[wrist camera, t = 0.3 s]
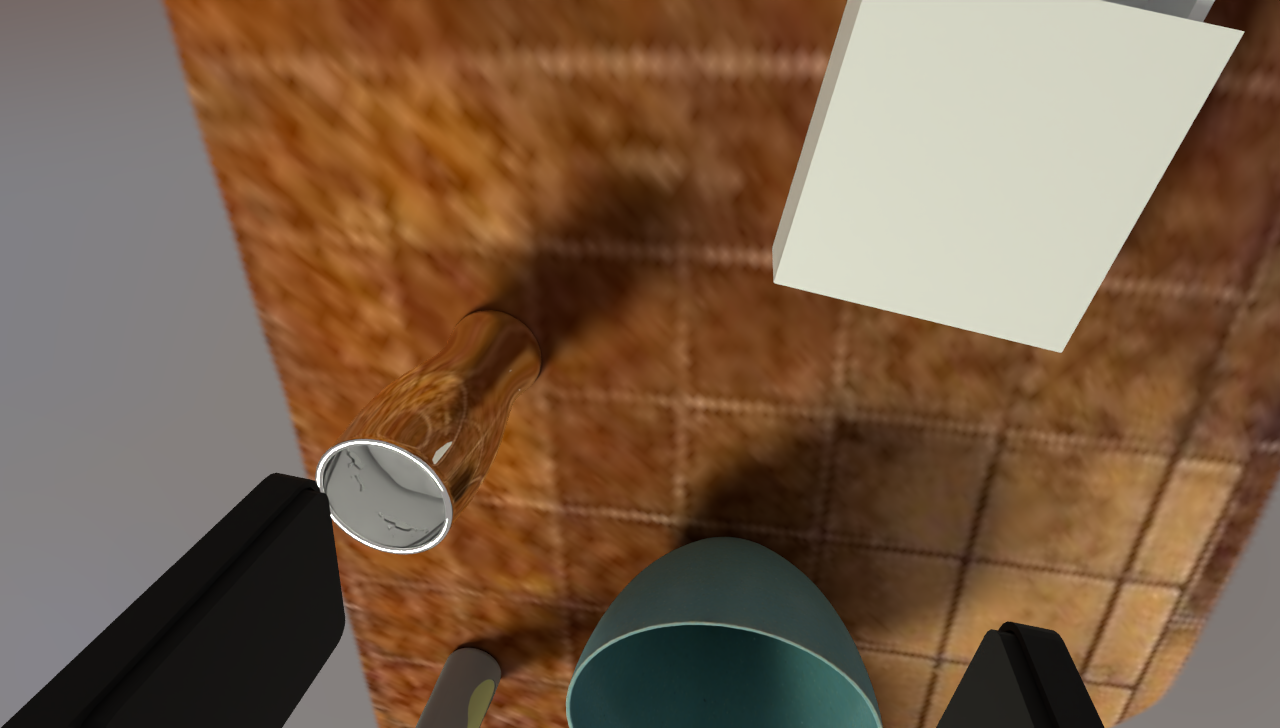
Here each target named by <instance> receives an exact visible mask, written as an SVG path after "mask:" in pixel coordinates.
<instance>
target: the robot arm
mask: <svg viewBox="0 0 1280 728" xmlns="http://www.w3.org/2000/svg"><path fill="white" fill-rule="evenodd" d="M344 626H345V613H344V606H343V599H342V591H341V584H340V577H339V570H338V563H337V555H336V548H335V541H334V534H333V526H332V519H331V512H330V505H329V499H328V496H327V495H326V494H325V493H322V492H320V488H319V485H318V483H317V482H316V481H314V480H310V479H305V478H299V477H295V476H290V475H285V474H280V473H274V474H270V475H269V476H268V477H267V478H265V479H264V480H263V481H262V482H261V483H260V484H259V485H257V486H256V487H255V488H254V489H253V490H252V491H251V492H250V493H249V494H248V495H247V496H246V497H245V498H244V499H243V500H242V501H241V502H239V503H238V504H237V505H236V506H235V507H234V508H233V509H232V510H231V511H230V512H229V513H228V514H227V515H226V516H225V517H224V518H223V519H222V520H220V522H218V523H217V524H216V525H215V526H214V527H213V528H212V529H211V530H210V531H209V532H208V533H207V534H206V535H205V536H204V537H202V538H201V540H199V541H198V542H197V543H196V544H195V545H194V546H193V547H192V548H191V549H190V550H189V551H188V552H187V553H186V554H185V555H183V557H181V558H180V559H179V560H178V561H177V562H176V563H175V564H174V565H173V566H172V567H170V568H169V569H168V570H167V571H166V572H165V573H164V574H163V575H162V576H161V577H160V578H159V579H158V580H157V581H156V582H155V583H153V584H152V585H151V586H150V587H149V588H148V589H147V590H146V591H145V592H144V593H143V594H142V595H141V596H140V597H139V598H138V599H137V600H136V601H134V602H133V603H132V604H131V605H130V606H129V607H128V608H127V609H126V610H125V611H124V612H123V613H122V614H121V615H120V616H119V617H118V618H116V619H115V621H113V622H112V623H111V624H110V625H109V626H108V627H107V628H106V629H105V630H104V631H103V632H102V633H101V634H100V635H98V636H97V637H96V638H95V639H94V640H93V641H92V642H91V643H90V644H89V645H88V646H87V647H86V648H85V649H84V650H83V651H82V652H81V653H79V654H78V656H76V657H75V658H74V659H73V660H72V661H71V662H70V663H69V664H68V665H67V666H66V667H65V668H64V669H63V670H61V671H60V672H59V673H58V674H57V675H56V676H55V677H54V678H53V679H52V680H51V681H50V682H49V683H48V684H47V685H46V686H45V687H44V688H42V689H41V690H40V691H39V692H38V693H37V694H36V695H35V696H34V697H33V698H32V699H31V700H30V701H29V702H28V703H27V704H26V705H25V706H23V707H22V708H21V709H20V710H19V711H18V712H17V713H16V714H15V715H14V716H13V717H12V718H11V719H10V720H9V721H8V722H6V723H5V724H4V725H3V726H2V727H1V728H282V727H283V725H284V724H285V722H286V721H287V719H288V718H289V716H290V715H291V713H292V712H293V710H294V709H295V707H296V706H297V704H298V703H299V701H300V700H301V698H302V697H303V695H304V694H305V692H306V691H307V689H308V688H309V686H310V685H311V683H312V682H313V680H314V679H315V677H316V676H317V674H318V673H319V671H320V670H321V668H322V667H323V665H324V664H325V662H326V661H327V659H328V658H329V656H330V655H331V653H332V652H333V650H334V649H335V648H336V646H337V644H338V643H339V641H340V638H341V636H342V633H343V630H344ZM936 728H1104V726H1103V724H1102V721H1101V719H1100V717H1099V715H1098V713H1097V711H1096V709H1095V707H1094V705H1093V702H1092V700H1091V698H1090V696H1089V694H1088V692H1087V690H1086V688H1085V685H1084V683H1083V681H1082V679H1081V677H1080V675H1079V673H1078V671H1077V669H1076V666H1075V664H1074V662H1073V660H1072V658H1071V656H1070V654H1069V652H1068V649H1067V647H1066V645H1065V643H1064V641H1063V640H1062V638H1061V637H1060V635H1059V634H1058V633H1056V632H1055V631H1054V630H1049V629H1044V628H1039V627H1034V626H1029V625H1024V624H1019V623H1014V622H1008V621H1007V622H1006V623H1004V624H1002V626H1001V627H1000V628H999V630H998V631H997V630H992V629H991V630H989V631H988V632H987V633H986V635H985V636H984V638H983V640H982V642H981V644H980V646H979V648H978V649H977V651H976V653H975V655H974V657H973V659H972V661H971V663H970V665H969V667H968V668H967V670H966V672H965V674H964V676H963V678H962V680H961V682H960V684H959V685H958V687H957V689H956V691H955V693H954V695H953V697H952V699H951V701H950V702H949V704H948V706H947V708H946V710H945V712H944V714H943V716H942V718H941V720H940V721H939V723H938V725H937V727H936Z"/></svg>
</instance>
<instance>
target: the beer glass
mask: <svg viewBox="0 0 1280 728" xmlns="http://www.w3.org/2000/svg"><path fill="white" fill-rule="evenodd" d="M541 360H542V359H541V351H540V347H539V344H538V342H537V340H536V338H535V336H534V335H533V333H532V332H531V331H530V330H529V329H528V327H527V326H525V325H524V324H523V323H522V322H521V321H519V320H518V319H516V318H515V317H513V316H511V315H509V314H506V313H503V312H500V311H494V310H483V311H478V312H474V313H472V314H470V315H468V316H466V317H464V318H463V319H462V320H461V321H460V322H459V323H458V324H457V325H456V327H455V328H454V330H453V331H452V333H451V335H450V337H449V339H448V342H447V344H446V345H445V347H444V348H443V349H442V350H441V351H440V352H439V353H438V354H436V355H435V356H433V357H431V358H430V359H428V360H426V361H425V362H423V363H421V364H419V365H418V366H416V367H414V368H413V369H411V370H409V371H408V372H406V373H404V374H403V375H402V376H400V377H399V378H397V379H396V380H394V381H393V382H392V383H390V384H389V385H387V386H386V387H385V388H384V389H383V390H382V391H380V392H379V393H378V394H377V395H376V396H375V397H374V398H373V399H372V400H371V401H370V402H369V403H368V404H367V405H366V406H365V407H364V408H363V409H362V410H361V411H360V412H359V413H358V415H357V416H356V417H355V418H354V419H353V420H352V422H351V423H350V424H349V425H348V426H347V428H346V429H345V430H344V431H343V433H342V434H341V435H340V437H339V438H338V439H337V440H336V442H335V443H334V444H333V445H332V447H331V448H330V449H329V450H328V451H327V452H326V453H325V454H324V455H323V456H322V458H321V459H320V461H319V463H318V466H317V470H316V477H315V481H316V482H317V483H318V485H319V488H320V492H322V493H325V494H326V495H327V496H328V499H329V505H330V512H331V519H332V520H333V521H334V522H335V523H336V524H337V525H338V526H339V527H340V528H341V529H342V530H343V531H345V532H346V533H347V534H348V535H350V536H351V537H353V538H354V539H356V540H357V541H359V542H361V543H363V544H365V545H367V546H369V547H372V548H374V549H377V550H380V551H384V552H388V553H394V554H415V553H420V552H424V551H426V550H429V549H431V548H433V547H435V546H436V545H437V544H439V543H440V542H441V541H442V540H443V539H444V538H445V537H446V535H447V534H448V532H449V530H450V528H451V527H452V525H453V524H454V523H455V521H456V520H457V519H458V518H459V516H460V515H461V514H462V512H463V511H464V510H465V508H466V507H467V506H468V504H469V503H470V502H471V500H472V499H473V497H474V496H475V494H476V493H477V491H478V490H479V488H480V486H481V485H482V483H483V482H484V480H485V478H486V476H487V474H488V472H489V471H490V469H491V467H492V465H493V463H494V461H495V458H496V455H497V453H498V450H499V447H500V445H501V442H502V438H503V435H504V432H505V428H506V425H507V421H508V418H509V414H510V411H511V408H512V405H513V403H514V402H515V400H516V399H517V398H518V397H519V396H520V395H521V394H522V393H524V392H525V391H526V390H527V389H528V388H529V387H530V386H531V385H532V384H533V383H534V381H535V380H536V378H537V377H538V375H539V372H540V368H541Z"/></svg>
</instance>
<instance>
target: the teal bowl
mask: <svg viewBox="0 0 1280 728" xmlns="http://www.w3.org/2000/svg"><path fill="white" fill-rule="evenodd" d="M566 715H567V720H568V724H569V728H883V725H882V720H881V715H880V711H879V707H878V703H877V700H876V697H875V693H874V690H873V687H872V684H871V681H870V679H869V676H868V673H867V670H866V668H865V666H864V663H863V661H862V659H861V656H860V654H859V652H858V650H857V647H856V645H855V643H854V641H853V639H852V638H851V636H850V634H849V632H848V630H847V628H846V627H845V625H844V623H843V622H842V620H841V619H840V617H839V615H838V614H837V612H836V611H835V609H834V608H833V606H832V605H831V604H830V602H829V601H828V600H827V598H826V597H825V596H824V595H823V593H822V592H821V591H820V590H819V589H818V587H817V586H816V585H815V584H814V583H813V582H812V581H811V580H810V579H809V578H808V577H807V576H806V575H805V574H804V573H802V572H801V571H800V570H799V569H798V568H797V567H795V566H794V565H793V564H791V563H790V562H789V561H787V560H786V559H785V558H783V557H782V556H780V555H779V554H777V553H775V552H774V551H772V550H770V549H768V548H766V547H764V546H762V545H760V544H758V543H755V542H752V541H749V540H745V539H741V538H734V537H713V538H707V539H702V540H699V541H696V542H693V543H690V544H687V545H685V546H682V547H680V548H678V549H675V550H673V551H671V552H670V553H668V554H666V555H664V556H662V557H661V558H659V559H658V560H656V561H655V562H653V563H652V564H650V565H649V566H648V567H647V568H645V569H644V570H643V571H642V572H641V573H639V574H638V575H637V576H636V577H635V578H634V579H633V580H632V581H631V582H630V583H629V584H628V585H627V586H626V587H625V588H624V589H623V591H622V592H621V593H620V594H619V595H618V596H617V598H616V599H615V600H614V601H613V603H612V604H611V605H610V607H609V608H608V609H607V611H606V612H605V614H604V615H603V617H602V618H601V620H600V621H599V623H598V625H597V626H596V628H595V630H594V631H593V633H592V635H591V636H590V638H589V640H588V642H587V644H586V646H585V648H584V650H583V652H582V654H581V656H580V659H579V661H578V663H577V666H576V668H575V671H574V674H573V676H572V679H571V682H570V685H569V689H568V692H567V697H566Z"/></svg>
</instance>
